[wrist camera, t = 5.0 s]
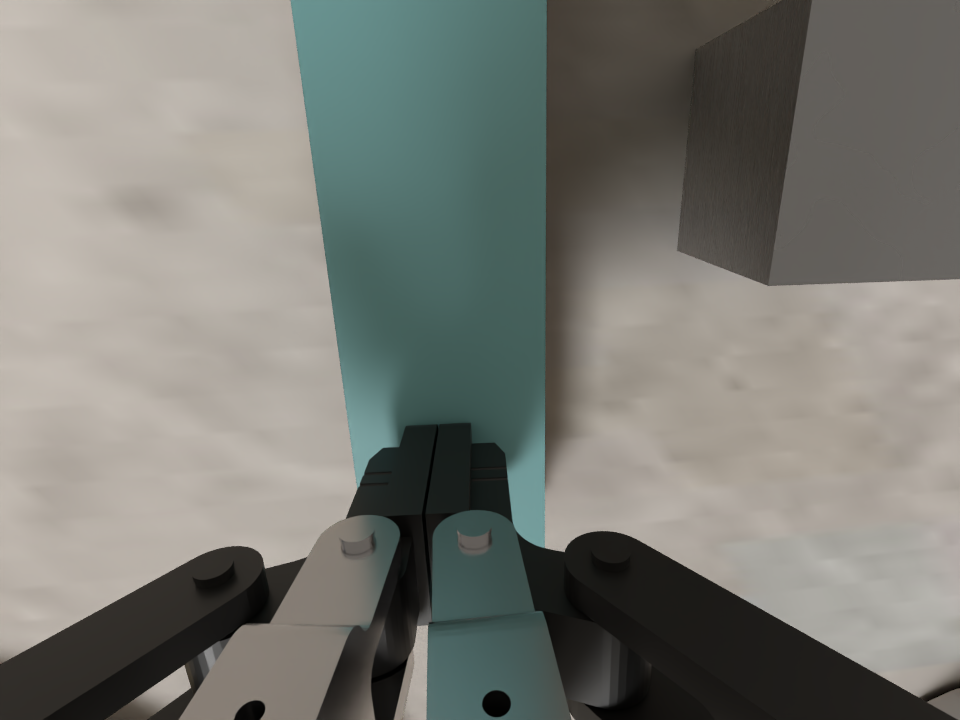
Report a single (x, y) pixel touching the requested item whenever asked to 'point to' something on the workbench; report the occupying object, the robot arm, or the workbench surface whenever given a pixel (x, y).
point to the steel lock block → (828, 144)
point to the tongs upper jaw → (435, 219)
